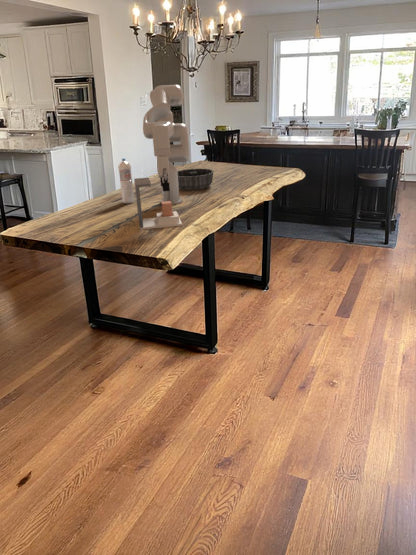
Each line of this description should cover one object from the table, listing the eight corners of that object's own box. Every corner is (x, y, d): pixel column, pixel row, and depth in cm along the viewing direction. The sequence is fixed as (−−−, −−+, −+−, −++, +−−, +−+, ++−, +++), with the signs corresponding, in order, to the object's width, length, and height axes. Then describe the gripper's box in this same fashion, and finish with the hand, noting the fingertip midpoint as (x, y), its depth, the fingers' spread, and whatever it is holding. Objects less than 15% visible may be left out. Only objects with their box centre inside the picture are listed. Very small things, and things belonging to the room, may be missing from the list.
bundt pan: (167, 192, 289) (165, 176, 285) (181, 183, 312) (180, 168, 308) (207, 193, 282) (206, 176, 278) (219, 183, 305) (218, 168, 301)
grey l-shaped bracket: (138, 219, 232) (134, 178, 224) (152, 217, 233) (148, 177, 225) (139, 227, 218) (135, 184, 210) (154, 226, 219) (150, 183, 211)
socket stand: (138, 221, 232) (137, 213, 230) (178, 217, 235) (177, 209, 233) (140, 229, 218) (139, 221, 217) (182, 225, 221) (181, 217, 220)
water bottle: (123, 204, 264) (118, 160, 254) (122, 202, 270) (116, 158, 260) (135, 203, 266) (130, 159, 256) (133, 200, 272) (129, 157, 262)
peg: (162, 219, 229) (161, 201, 225) (171, 218, 229) (170, 201, 226) (163, 222, 225) (162, 204, 221) (172, 221, 225) (171, 203, 222)
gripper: (152, 149, 221) (156, 185, 228) (155, 155, 206) (159, 193, 213) (168, 148, 222) (171, 183, 230) (172, 154, 207) (175, 192, 214)
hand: (165, 188), depth 221 cm, fingers open, 9 cm apart
